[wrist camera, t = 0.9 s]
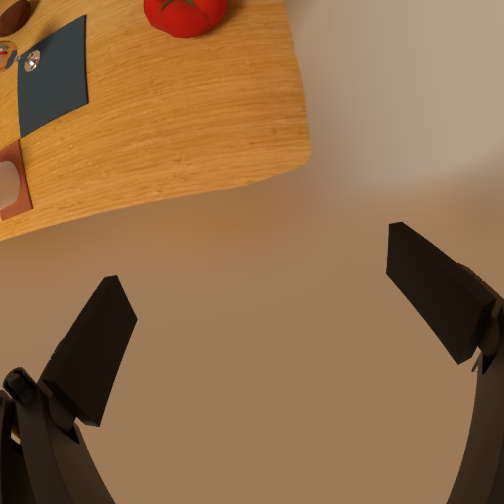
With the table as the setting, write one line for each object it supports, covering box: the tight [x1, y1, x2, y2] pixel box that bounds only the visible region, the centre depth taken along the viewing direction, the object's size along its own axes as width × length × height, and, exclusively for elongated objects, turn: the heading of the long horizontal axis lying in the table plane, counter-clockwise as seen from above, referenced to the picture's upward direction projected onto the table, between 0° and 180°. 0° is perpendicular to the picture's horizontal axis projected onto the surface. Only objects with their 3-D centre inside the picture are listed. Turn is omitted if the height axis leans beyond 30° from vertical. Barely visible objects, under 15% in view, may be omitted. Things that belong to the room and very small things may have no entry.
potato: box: [0, 0, 30, 37], centre depth 17 cm, size 7×9×6 cm
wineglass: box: [0, 41, 40, 73], centre depth 20 cm, size 6×6×12 cm
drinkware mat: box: [18, 15, 88, 138], centre depth 27 cm, size 18×17×1 cm
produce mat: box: [0, 140, 33, 221], centre depth 35 cm, size 14×12×1 cm
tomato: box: [144, 0, 228, 38], centre depth 22 cm, size 11×12×9 cm
